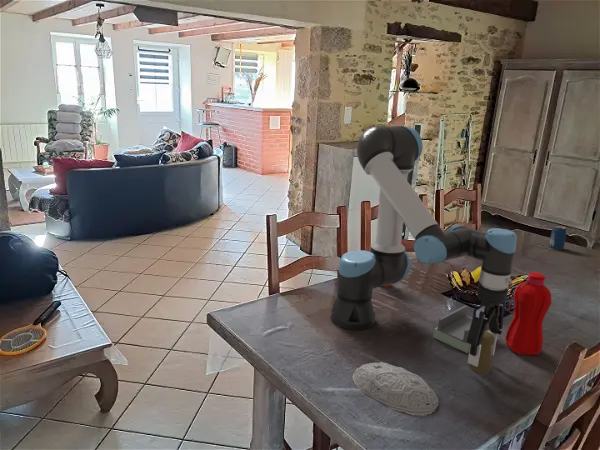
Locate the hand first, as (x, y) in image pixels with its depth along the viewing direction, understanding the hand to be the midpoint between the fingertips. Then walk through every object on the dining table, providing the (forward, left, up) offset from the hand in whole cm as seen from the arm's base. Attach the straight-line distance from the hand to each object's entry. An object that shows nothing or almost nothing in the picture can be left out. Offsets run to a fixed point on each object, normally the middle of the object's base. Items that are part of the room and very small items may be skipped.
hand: (481, 358), depth 129 cm
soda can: (+138, +30, -3) cm, 141 cm away
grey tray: (+12, +12, -3) cm, 17 cm away
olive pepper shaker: (0, 0, -3) cm, 3 cm away
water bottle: (+20, -3, -3) cm, 20 cm away
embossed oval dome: (-28, +9, -4) cm, 29 cm away
